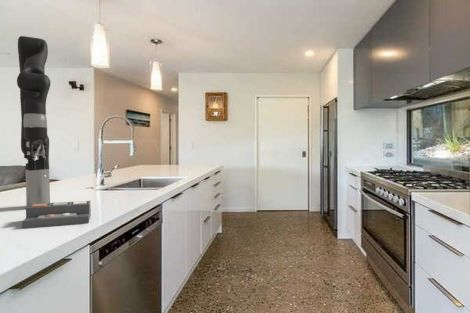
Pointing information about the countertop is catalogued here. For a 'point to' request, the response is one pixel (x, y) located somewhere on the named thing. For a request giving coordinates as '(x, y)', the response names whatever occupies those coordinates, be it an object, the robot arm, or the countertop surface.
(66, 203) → the key sage
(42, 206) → the key terracotta
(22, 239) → the countertop surface
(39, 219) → the keypad
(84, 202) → the key cream
